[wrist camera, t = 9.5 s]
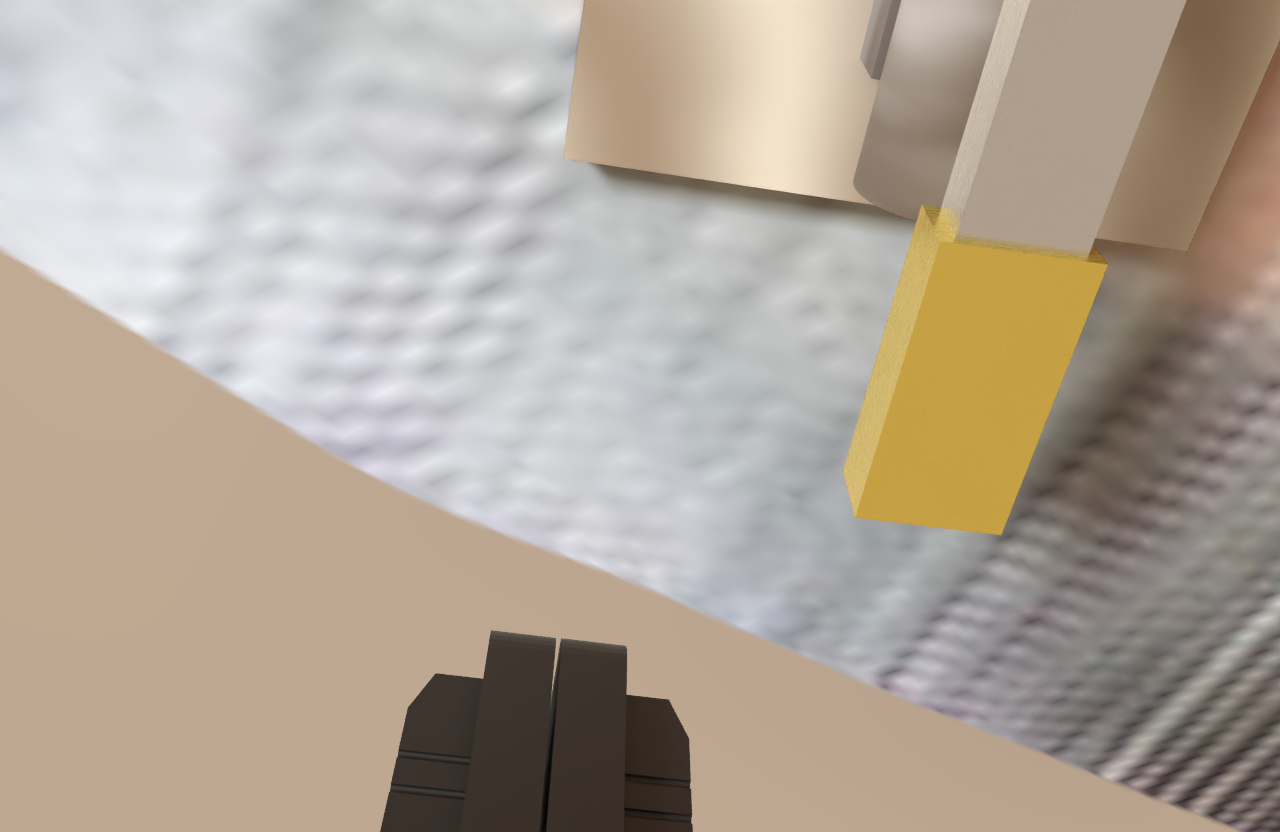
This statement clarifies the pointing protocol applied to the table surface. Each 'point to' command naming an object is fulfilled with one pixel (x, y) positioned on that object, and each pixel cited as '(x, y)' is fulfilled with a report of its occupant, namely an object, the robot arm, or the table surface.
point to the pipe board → (825, 101)
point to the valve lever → (1005, 264)
